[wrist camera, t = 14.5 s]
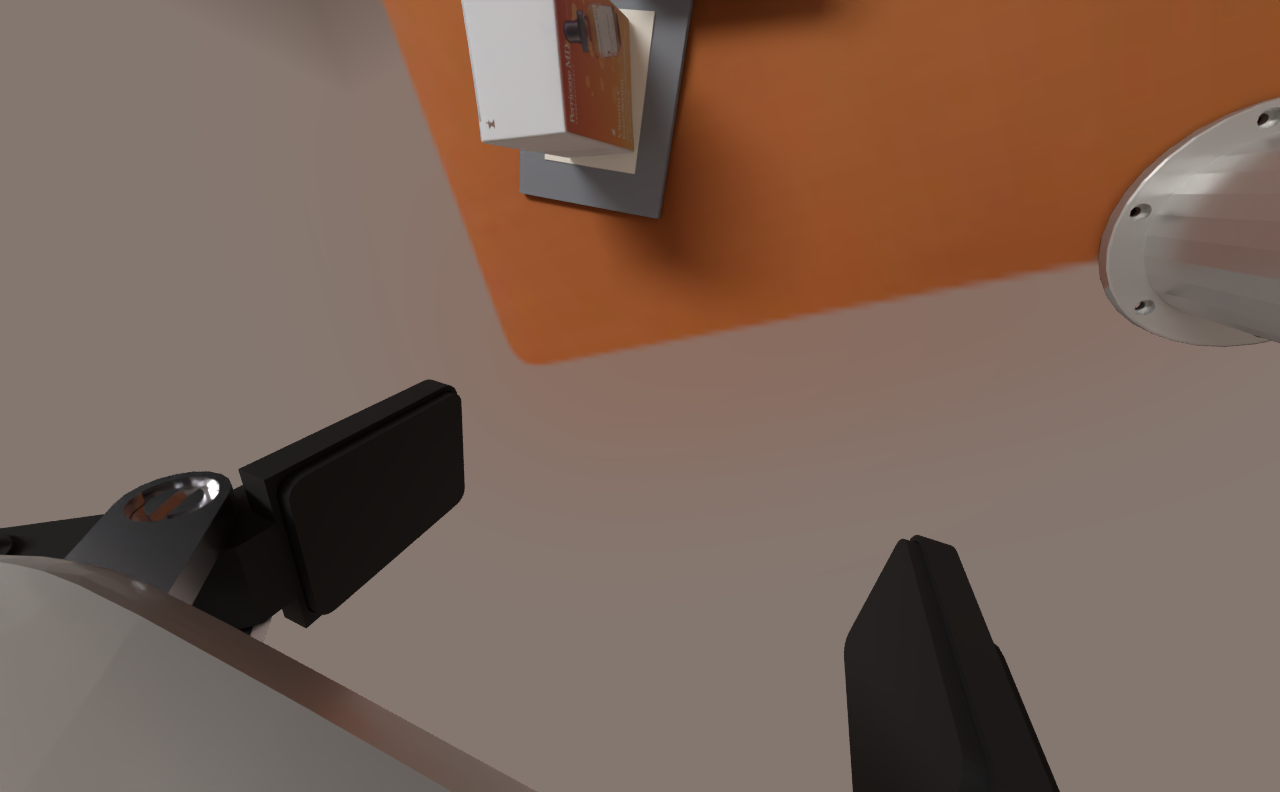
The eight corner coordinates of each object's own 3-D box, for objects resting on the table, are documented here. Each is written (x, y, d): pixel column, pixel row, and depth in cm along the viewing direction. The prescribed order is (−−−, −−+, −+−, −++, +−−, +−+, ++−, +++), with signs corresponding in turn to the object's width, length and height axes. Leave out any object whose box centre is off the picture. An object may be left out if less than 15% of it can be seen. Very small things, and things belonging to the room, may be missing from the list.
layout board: (699, -39, 28) (696, -44, 27) (659, 218, 35) (657, 218, 34) (529, -47, 31) (523, -51, 30) (523, 192, 37) (518, 192, 37)
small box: (635, 154, 33) (568, 138, 24) (567, 158, 35) (479, 146, 25) (631, 15, 30) (550, -64, 21) (555, 28, 31) (450, -39, 22)
